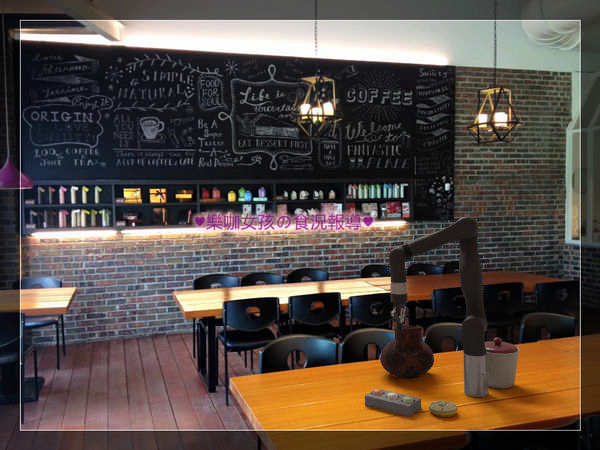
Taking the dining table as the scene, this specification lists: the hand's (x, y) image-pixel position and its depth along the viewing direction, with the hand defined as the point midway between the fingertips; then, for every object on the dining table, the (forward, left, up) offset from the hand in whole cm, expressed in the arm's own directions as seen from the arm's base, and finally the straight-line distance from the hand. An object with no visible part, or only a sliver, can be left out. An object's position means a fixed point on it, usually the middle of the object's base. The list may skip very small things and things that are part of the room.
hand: (399, 330), depth 234 cm
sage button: (-16, +23, -24) cm, 37 cm away
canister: (-34, -26, -25) cm, 50 cm away
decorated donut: (-28, +17, -25) cm, 41 cm away
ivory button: (-9, +23, -24) cm, 35 cm away
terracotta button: (-2, +23, -24) cm, 33 cm away
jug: (+5, -15, -25) cm, 30 cm away
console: (-9, +23, -25) cm, 35 cm away
